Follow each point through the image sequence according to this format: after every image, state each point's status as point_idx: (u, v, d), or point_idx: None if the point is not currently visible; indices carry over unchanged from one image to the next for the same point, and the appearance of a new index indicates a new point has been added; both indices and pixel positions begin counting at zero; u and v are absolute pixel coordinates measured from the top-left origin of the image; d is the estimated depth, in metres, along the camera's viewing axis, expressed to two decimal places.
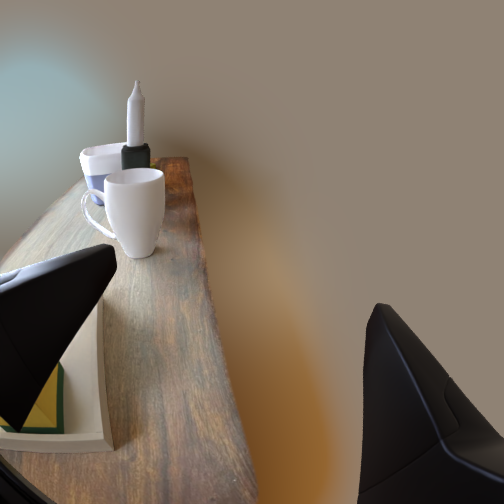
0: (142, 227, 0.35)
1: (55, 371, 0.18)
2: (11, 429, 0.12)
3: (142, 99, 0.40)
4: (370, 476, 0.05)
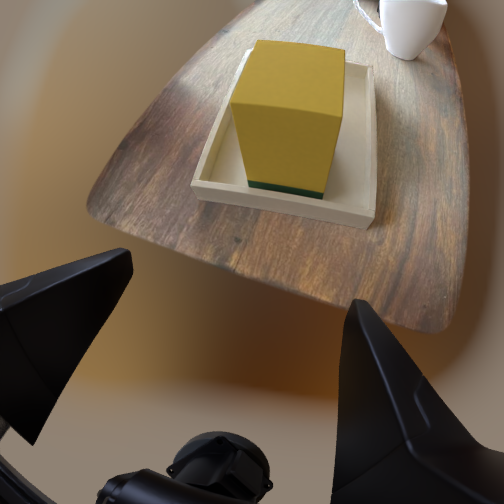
0: (419, 36, 0.22)
1: None
2: (260, 186, 0.22)
3: None
4: (342, 475, 0.05)
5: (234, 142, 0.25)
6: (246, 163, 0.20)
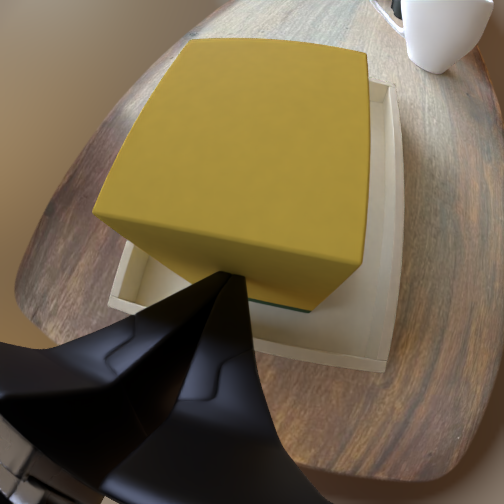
0: (456, 43, 0.14)
1: None
2: None
3: None
4: None
5: None
6: (179, 274, 0.12)
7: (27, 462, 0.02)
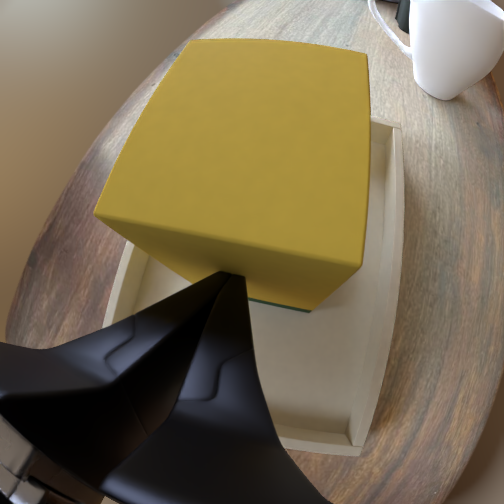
0: (471, 70, 0.13)
1: None
2: None
3: None
4: None
5: (157, 291, 0.16)
6: (180, 274, 0.12)
7: (27, 462, 0.02)
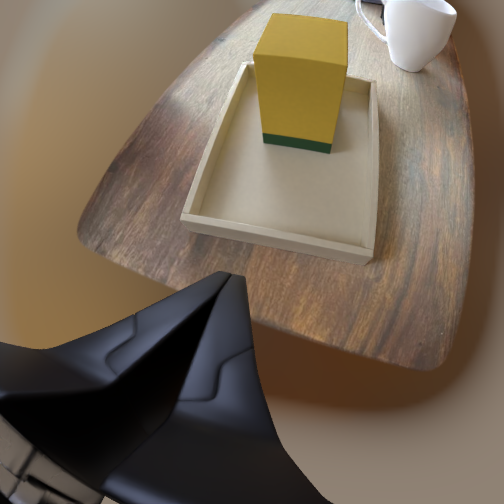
0: (425, 48, 0.21)
1: None
2: (274, 138, 0.23)
3: None
4: None
5: (227, 168, 0.24)
6: (263, 114, 0.21)
7: (27, 462, 0.02)
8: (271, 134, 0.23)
